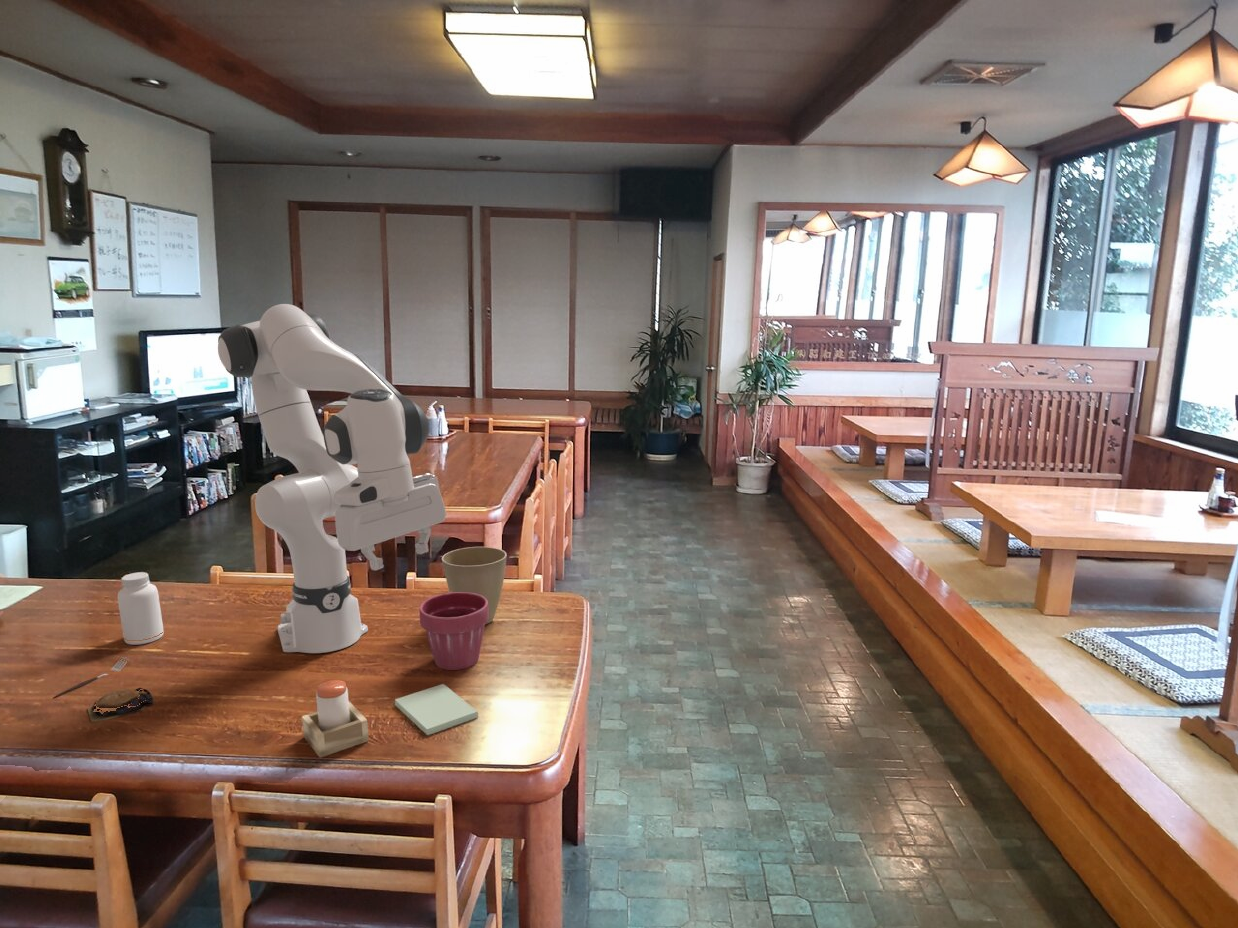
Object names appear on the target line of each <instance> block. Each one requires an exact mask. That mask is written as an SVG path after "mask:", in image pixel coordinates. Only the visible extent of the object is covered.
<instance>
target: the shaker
mask: <svg viewBox="0 0 1238 928" xmlns="http://www.w3.org/2000/svg"><path fill="white" fill-rule="evenodd" d="M315 698H316V699H315V701H316V709H317V710H316V712H318V721H319V729H320V730H321V732H323V731H326V730H329V729H332V728H335V727H338V726H341V725H345V724H348V723H351V722H350V711H349V702H350V701H349V689H348V687H347V684H346V682H345V681H344V680H340V679H334V680H333V679H331V680H327V681H324V682H322V683H320V684H319V685H318V686H316V693H315Z"/></svg>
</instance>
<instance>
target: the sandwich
mask: <svg viewBox="0 0 1238 928" xmlns="http://www.w3.org/2000/svg"><path fill="white" fill-rule="evenodd" d="M140 689H143V690H140ZM139 690H140V691H139ZM137 691H139V693H138V692H137ZM139 695H140V696H139ZM138 696H139V697H138ZM138 698H139V699H138ZM145 700H146V701H145ZM153 700H154V698H153V696H152V693H151V692H150V691H149V690H148V689H146V688H142V687H138V688H136V689H134V690H133V689H129V688H121V689H115V690H112V691H110V692H107V693H105V694H104V695H103V696H101V697H100V698H99V699H98V700H96V701H95V702H93V705H90V706H88V707H87V709H86V710H87V712H88V716H89V720H90V722H91V723H93V724H94V723H100V722H104V721H107V720H110V719H114V718H119V717H121V716H122V717H123V716H126V715H129V714H132V713H135V712H139V711H141V710H144V709H145V708H147V706H153V705H154V701H153ZM143 701H144V702H143ZM96 702H97V703H96ZM141 702H142V703H141ZM131 703H132V704H131ZM139 703H140V705H139ZM95 704H96V706H97V707H99V708H117V707H120V708H117V709H116V711H110V712H108V711H106V712H104V713H103V714H101V713H100V712H93V711H94V709H96V706H94V705H95ZM128 704H130V705H129V706H136V707H130V708H128V707H127V706H128ZM124 705H127V706H124ZM137 705H138V706H137ZM121 706H123V707H121ZM99 710H100V709H97V711H99ZM101 711H102V710H101Z"/></svg>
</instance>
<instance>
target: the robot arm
mask: <svg viewBox="0 0 1238 928" xmlns="http://www.w3.org/2000/svg"><path fill="white" fill-rule="evenodd" d="M327 326H328V325H326V323H325V321H324V320H323V318H321V317H320V316H318V315H317V314H311V313H306V312H305V311H304V310H302V309H301V308H300V307H299V306H296V305H293V304H291V303H280V304H276V305H273V306H272V307H269V308H268V309H267V310H266V311H265V312H264V313H263V315H262V316H261V318H260V320H257V321H252V322H248V323H245V324H241V325H240V324H236V325H235V324H234V325H233V326H230V327H228V328H226V329H224V330H222V331H221V333H220V335H219V336H218V340H217V343H218V344H217V353H218V357H219V360H220V361H221V364H222V365H223V367H224V368H225V370H226V371H227V372H228V373H229V375H232V376H233V377H235V378H250V383H251V389H252V390H251V391H252V396H253V401H254V405H255V410H256V413H257V416H258V419H259V421H260V425H261V428H262V431H263V434H264V438H265V441H266V444H267V447H268V449H269V450H270V451H271V453H272V454H274V455H275V456H277V457H280V458H283V459H285V460H288V461H289V462H290V463H291V464H292V465H293V466H294V467H295V468H296V470H297V472H296V473H292V474H289V475H284V476H281V477H278V478H276V479H274V480H271V481H269V482H268V483H266V484H264V485H262V486H261V487H259V488H258V490H257V492H256V495H255V499H254V506H255V509H254V510H255V512H256V515H257V517H258V518H259V520H260V521H261V522H262V524H264V525H265V526H266V527H268V528H269V529H271V530H274V531H275V532H277V533H278V535H280V536H281V537H282V539H283V540H284V542H285V544H286V545H287V548H288V551H289V553H290V557H291V559H290V560H291V565H292V574H293V579H294V582H293V583H292V590H291V593H292V598H291V599H292V600H291V601H290V602H289V603H288V604H287V605H286V607H285V609H286V612H285V613H284V612H283V613H281V614H280V616H279V617H280V624H278V625H277V633H278V637H279V641H280V644H281V647H282V648H281V649H282V651H283V652H284V653H304V654H322V653H324V654H325V653H330V652H334V651H339V650H342V649H345V648H348V647H349V646H351V645H353V644H355V643H357V641H359V639H360V638H361V637H362V635H364V634H365V633H368V631H369V628H368V625H366V624H364V623H363V622H361V621H362V620H361V614H360V607H359V600H358V598H357V597H355V595H353V594H351V593H352V592H351V591H352V590H351V589H352V588H351V586H352V584H351V580H350V577H349V576H348V572H347V571H348V569H347V557H346V551H349V552H352V551H353V552H355V551H358V550H360V552H361V553H362V555H364V557H365V558H366V559H367V560H368V561H369V565H370V570H372V571H378V570H380V569H383V568H384V566H385V565H384V564H383V562H384V561H383V558H382V557H378V556H376V555H375V553H374V552H375V551H376V548H375V545H377V544H380V543H382V542H383V543H384V542H385V541H389V540H392V539H395V538H399V537H402V536H404V535H408V534H410V533H414V532H417V533H419V538H418V542H417V543H415V544H414V547H415V552H416V554H417V555H423V554H426V553H429V545H428V542H429V541H430V537H431V534H432V528H431V526H435V525H438V524H441V523H444V521H445V519H446V517H447V511H446V507H445V503H444V502H445V501H444V500H443V497H442V494H441V491H440V485H439V480H438V477H436V476H435V475H433V474H431V473H429V472H426V473H422V474H421V475H416V476H413V472H412V467H411V466H412V465H411V460H410V458H409V455H416V454H418V453H419V451H420V450H421V449H423V446H424V445H425V444H426V441H427V440H428V438H429V435H430V424H429V421H428V417H427V416H426V413H425V412H424V410H423V409H422V408H421V407H420V406H419V405H418V404H417V403H416V402H414V401H413V400H411V399H409V398H407V397H406V396H404V395H403V394H401V392H399V390H397V388H395V387H394V386H393V385H392V384H391V382H389V381H388V380H387V379H386V378H385V377H384V376H383V375H382V374H381V373H380V372H379V371H377V369H375V368H374V366H372V364H370V363H369V362H368V361H367V360H365V358H363V357H361V356H359V355H357V354H355V353H354V352H350V351H348V350H346V349H344V348H343V347H341V346H339V345H338V344H337V343H335V342H333V341H332V339H331V335H330V332H329V329H328V327H327ZM308 391H323V392H324V391H325V392H326V391H329V392H343V393H348V394H350V395H348V397H347V400H346V401H347V402H346V406H345V407H344V408H343V409H342V410H340V411H339V412H337V413H335V414H332V415H330V417H329V418H328V419H327V421H326V422H325V424H324V427H323V428H322V429H323V430H321V427H320V424H319V421H318V418H317V416H316V413H315V409H314V408H313V403H312V401H311V399H310V395H309V394H308ZM356 464H357V467H356V466H355V465H356ZM331 517H334V523H335V531H336V533H335V534H336V536H333V535H331V534H327V533H326V531H325V528H324V525H323V524H324V522H323V521H324V519H327V518H331Z"/></svg>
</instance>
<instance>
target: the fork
mask: <svg viewBox="0 0 1238 928" xmlns="http://www.w3.org/2000/svg"><path fill="white" fill-rule="evenodd" d="M121 658H122V660H123V659H124V660H125V659H126V660H128V659H129V660H130V657H126V656H124V657H123V656H121V657H120V659H121ZM122 660H120V661H119V660H118V661H117V662H116V663H115V665H113V666H112V668H110V670H111V671H113V672H114V671H115V672H120V671H122V669H123V668H124V667H125V666H126V664H127V663H128V662H127V661H125V662H124V661H122ZM108 675H109V673H103V674H100V675H98V676H95V677H93V678H91V679H88V680H85V681H83V682H80V683H78V684H75V685H74V686H71V687H70V688H68V689H66V690H64V691H62V692H60V693H58V694H57V695H55V696H53V697H52V698H53V699H57V698H59V697H61V696H64V695H65V694H68V693H70V692H72V691H75V690H78V689H80V688H83V687H85V686H87V685H89V684H90V683H92V682H94V681H96V680H98V679H100V678H102V677H105V676H108Z"/></svg>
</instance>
